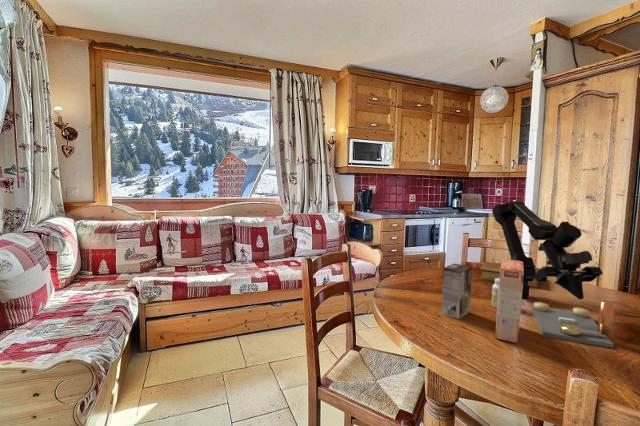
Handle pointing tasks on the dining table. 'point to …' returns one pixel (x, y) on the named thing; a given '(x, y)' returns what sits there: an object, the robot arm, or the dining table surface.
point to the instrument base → (579, 317)
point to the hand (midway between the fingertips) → (581, 298)
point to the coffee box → (456, 290)
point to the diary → (493, 271)
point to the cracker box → (509, 300)
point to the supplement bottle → (495, 292)
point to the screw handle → (603, 322)
